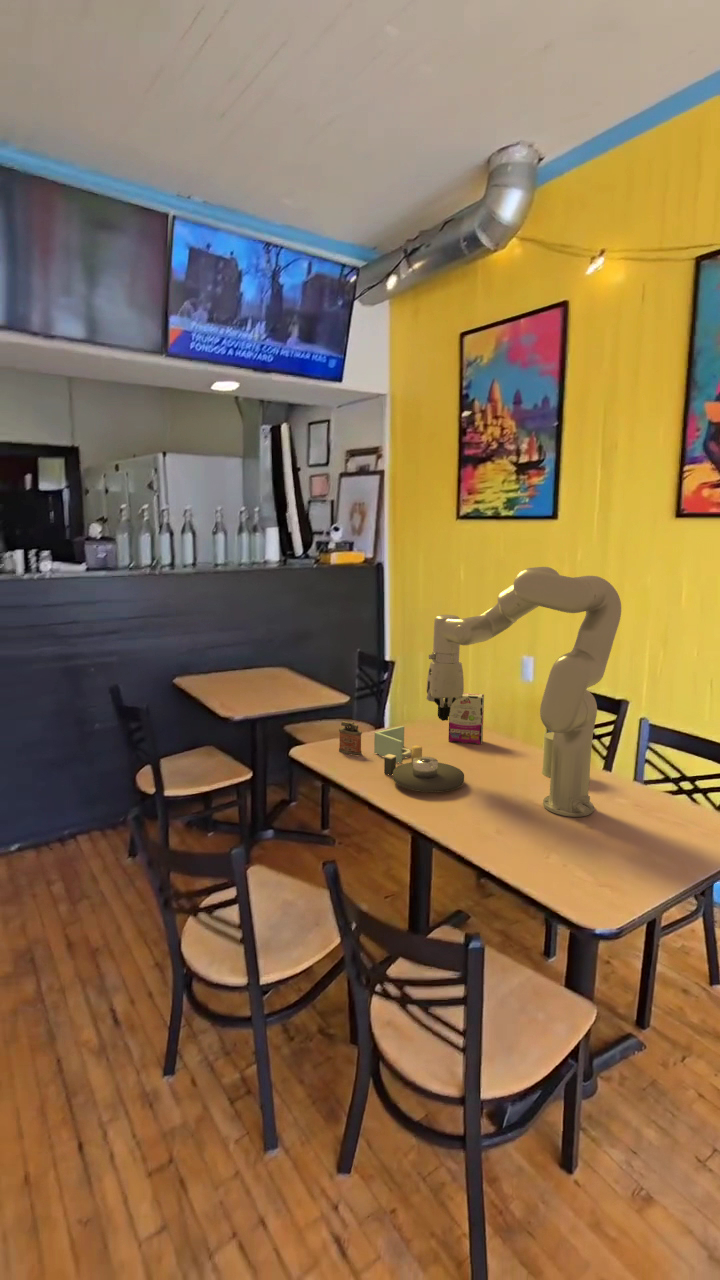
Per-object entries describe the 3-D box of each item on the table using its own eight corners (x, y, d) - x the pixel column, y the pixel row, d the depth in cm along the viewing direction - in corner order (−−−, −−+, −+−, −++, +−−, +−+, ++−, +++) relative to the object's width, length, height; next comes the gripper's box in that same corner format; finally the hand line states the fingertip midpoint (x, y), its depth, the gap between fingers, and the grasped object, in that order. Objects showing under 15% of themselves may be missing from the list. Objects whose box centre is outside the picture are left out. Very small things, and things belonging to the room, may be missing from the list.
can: (578, 779, 197) (580, 739, 195) (546, 779, 197) (548, 739, 195) (569, 768, 206) (571, 730, 204) (538, 768, 206) (540, 729, 204)
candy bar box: (482, 740, 232) (484, 693, 230) (481, 745, 228) (483, 697, 225) (450, 737, 235) (451, 691, 233) (447, 741, 231) (449, 694, 228)
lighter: (363, 753, 218) (363, 723, 216) (357, 756, 215) (358, 725, 214) (342, 749, 222) (342, 719, 221) (336, 751, 219) (336, 721, 218)
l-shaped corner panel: (399, 765, 209) (400, 741, 208) (374, 755, 218) (374, 732, 217) (427, 757, 217) (428, 734, 216) (401, 747, 226) (402, 725, 225)
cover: (441, 777, 190) (442, 762, 189) (419, 780, 187) (419, 765, 187) (430, 768, 196) (430, 754, 195) (408, 771, 194) (408, 757, 193)
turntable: (476, 787, 186) (477, 764, 185) (408, 795, 180) (409, 772, 179) (445, 763, 205) (445, 742, 204) (382, 770, 199) (383, 748, 198)
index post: (396, 773, 201) (396, 755, 200) (391, 775, 199) (391, 758, 198) (388, 771, 202) (389, 753, 201) (383, 773, 200) (384, 756, 199)
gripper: (427, 661, 191) (424, 724, 194) (475, 659, 196) (472, 721, 199) (416, 656, 198) (414, 717, 201) (463, 654, 203) (460, 714, 206)
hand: (443, 719), depth 200 cm, fingers closed
